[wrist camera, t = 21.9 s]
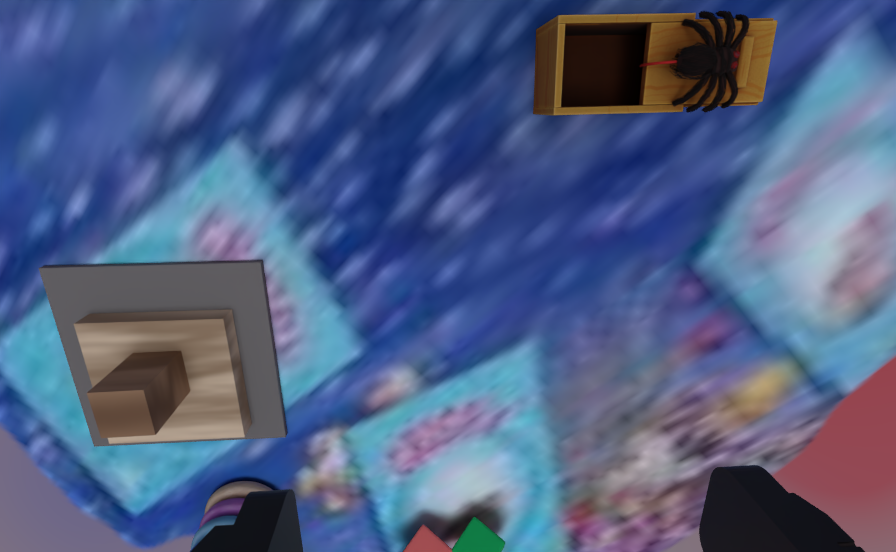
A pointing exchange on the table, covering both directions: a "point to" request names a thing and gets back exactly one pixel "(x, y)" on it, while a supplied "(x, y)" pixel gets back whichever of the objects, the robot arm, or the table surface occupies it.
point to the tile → (205, 358)
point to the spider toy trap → (650, 62)
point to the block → (139, 394)
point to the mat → (175, 290)
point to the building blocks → (473, 548)
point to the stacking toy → (225, 506)
